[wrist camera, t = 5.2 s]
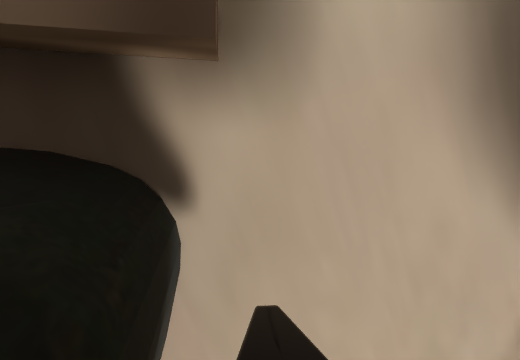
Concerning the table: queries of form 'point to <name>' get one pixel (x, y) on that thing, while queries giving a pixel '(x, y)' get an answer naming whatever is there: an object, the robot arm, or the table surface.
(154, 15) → the tray
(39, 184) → the sushi
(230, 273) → the table surface
